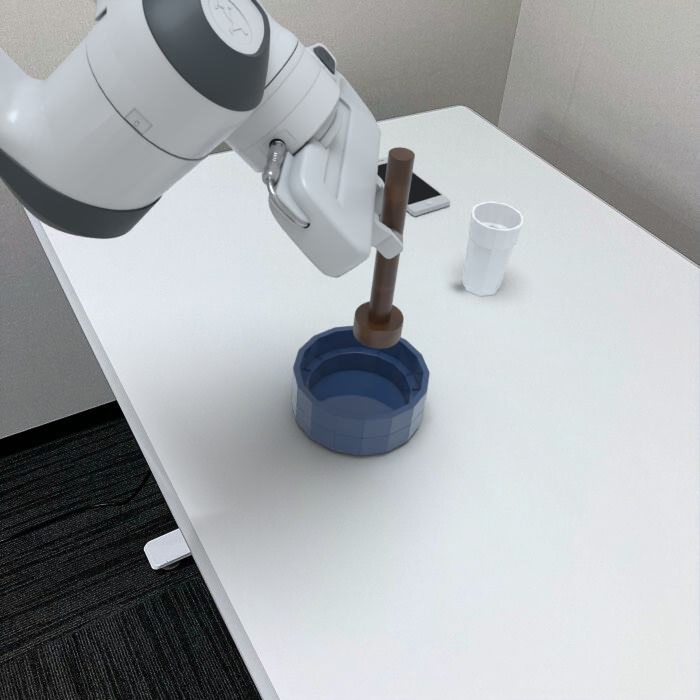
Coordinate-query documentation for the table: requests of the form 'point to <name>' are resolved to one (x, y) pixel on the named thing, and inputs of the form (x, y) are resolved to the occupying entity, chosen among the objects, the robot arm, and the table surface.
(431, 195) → the smartphone
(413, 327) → the table surface
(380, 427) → the bowl
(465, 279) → the cup
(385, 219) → the stick
